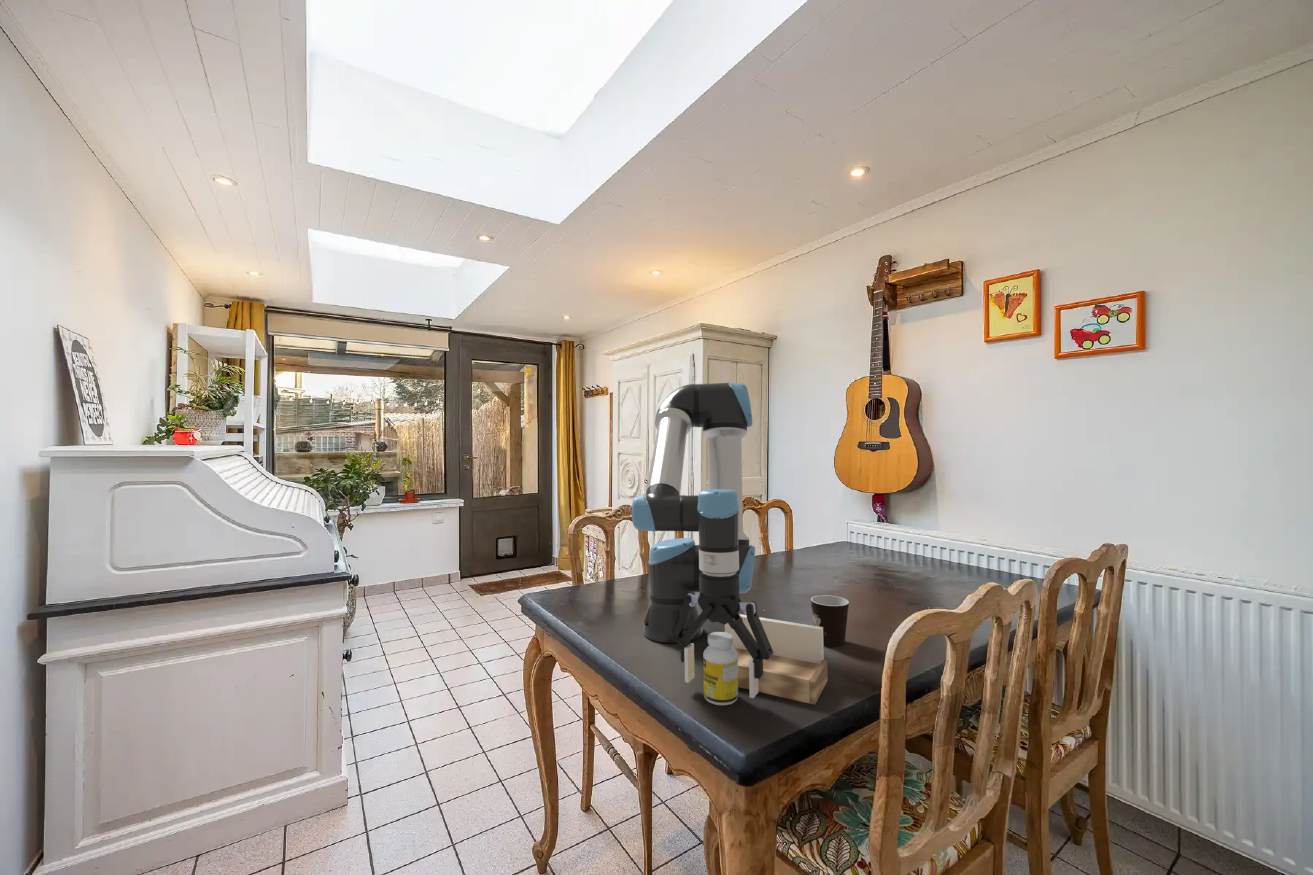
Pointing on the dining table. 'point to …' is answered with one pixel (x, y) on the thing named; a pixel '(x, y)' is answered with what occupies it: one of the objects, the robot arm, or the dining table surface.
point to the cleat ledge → (785, 677)
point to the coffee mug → (831, 618)
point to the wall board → (787, 639)
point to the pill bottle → (720, 669)
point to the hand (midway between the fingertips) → (720, 687)
